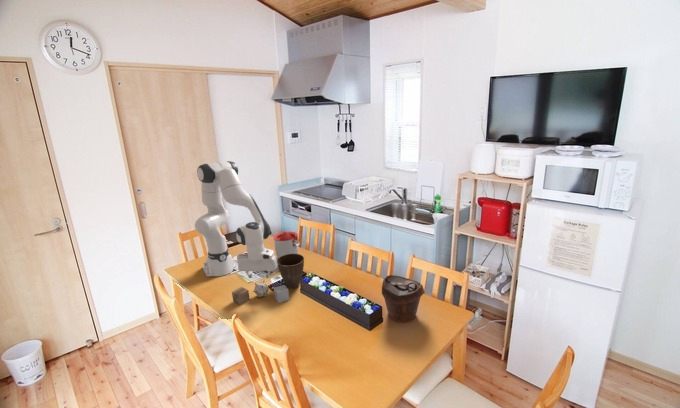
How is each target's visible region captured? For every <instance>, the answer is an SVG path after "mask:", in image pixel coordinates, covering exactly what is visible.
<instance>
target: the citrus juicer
mask: <svg viewBox="0 0 680 408" xmlns="http://www.w3.org/2000/svg"><path fill="white" fill-rule="evenodd" d="M298 236H299V235H298V233H297V232H296V231H282V232H278V233H276V234H274V235H273V237H272V238H273V242H274V243H273V244H274V252H275V256H276V258H277V259H278V258H279V257H281V256H283V255H286V254H299V246H300V245H301V242H300V241H299V238H298Z"/></svg>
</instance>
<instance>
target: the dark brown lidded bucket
mask: <svg viewBox="0 0 680 408" xmlns="http://www.w3.org/2000/svg"><path fill="white" fill-rule="evenodd" d="M424 294H425V289H424V286H423V284H422V283H420V282H419V281H417V280H414V279H410V278H406V277H405V276H404V277H403V276H401V275H400V276H399V275H392V274H390V275H389V274H388V275H385V277H383V280H382V285H381V295H382V297H383V299H384V302H385V307H386V310H387V315H388V317H389V318H390V319H392V320H393V321H394V322H398V323H408V322H411V321H413V320H415V318H416V317H417V312H418V308H419V305H420V301H421V297H423V295H424Z"/></svg>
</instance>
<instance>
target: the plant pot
mask: <svg viewBox="0 0 680 408" xmlns="http://www.w3.org/2000/svg"><path fill="white" fill-rule="evenodd" d="M276 259H277V264H278V267H277V269H278V270H279V273H280V277H281V278H282V281H283V283H284V285H285V286H286V287H287V289H296V288H298V287H299V286H300V284H301V281H302V277H303V272H304V266H305V265H304V264H305V256H303V255H302V254H299V253H298V254H286V255H283V256H281V257H279V258H278V257H277V258H276Z"/></svg>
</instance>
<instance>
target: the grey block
mask: <svg viewBox="0 0 680 408" xmlns="http://www.w3.org/2000/svg"><path fill="white" fill-rule="evenodd" d="M273 295H274V298H275V300H276V302H277V303H278V304H279V303H283V302H286V301H289V300H290V293H289V288H288V287H287V286H286V285H285V284H281V285H279V286H275V287H273Z"/></svg>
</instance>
